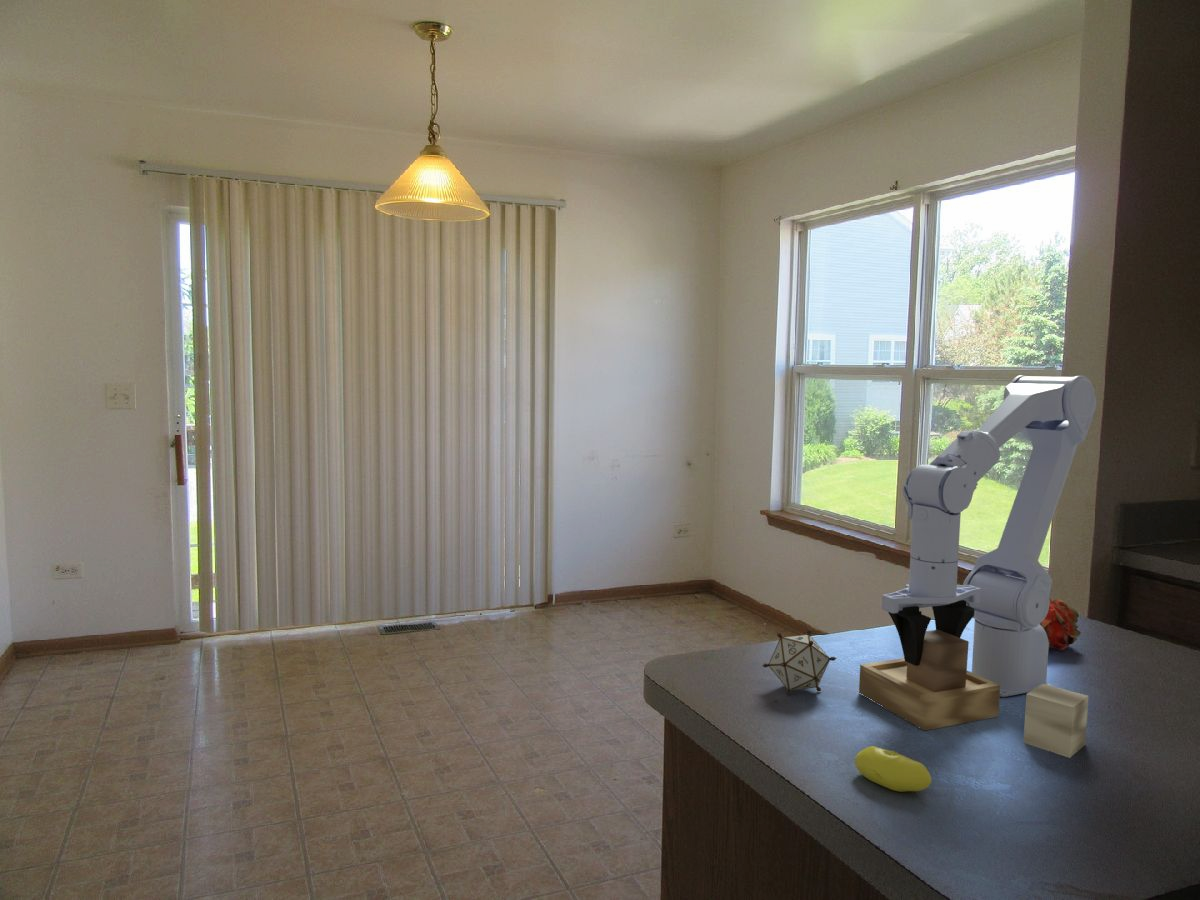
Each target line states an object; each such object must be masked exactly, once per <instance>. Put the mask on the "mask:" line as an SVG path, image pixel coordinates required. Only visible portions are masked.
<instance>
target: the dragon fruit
mask: <svg viewBox="0 0 1200 900" xmlns="http://www.w3.org/2000/svg"><path fill="white" fill-rule="evenodd" d="M1049 600H1050V604H1049V610H1048V613H1047V615H1046V617H1045V619H1044V620H1043V621H1042V622H1041V623H1040V625H1041V626H1042V627H1043V629H1044V630H1045V632H1046V634H1047V637H1048V642H1049V648H1048V650H1050V649H1053V648H1054V649H1055V650H1057V651H1063V650H1065V649H1066V648H1068V647H1070V646H1071V645H1073V644H1074V643H1075V642H1076V641H1077V640H1078V637H1080V635H1081V633H1082V632H1081V631H1080V630H1078V628H1079V625H1077V623H1078V621H1079V620H1078V618H1079V615H1080V614H1079V613H1078V611H1077V610H1076V609H1075V608H1072V607H1070V606H1069V605H1068V603H1067V602H1066V601H1065V600H1063V599H1055V600H1052V599H1051V598H1050V597H1049Z"/></svg>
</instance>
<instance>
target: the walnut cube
mask: <svg viewBox="0 0 1200 900" xmlns="http://www.w3.org/2000/svg"><path fill="white" fill-rule="evenodd" d="M969 643H970V642H969V641H968V640H966V639H964V638H961V637H960V638H959V637H956V636H953V635H951V634H948V633H946V632H943V631H941V630H936V629H933V630H926V633H925V637H924V641H923V651H922V657H921V661H920V664H919V665H918V666H915V665H912V664H910V663H908V662H907V675H906V678H907V679H909V680H911V681H913V682H916V683H918V684H920V685H922V686H924V687H926V688H928V689H930V690H932V691H934V692H940V691H946V690H952V689H958V688H964V687H966V673H967V671H968V657H969V655H968V653H969Z"/></svg>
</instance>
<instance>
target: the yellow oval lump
mask: <svg viewBox="0 0 1200 900" xmlns="http://www.w3.org/2000/svg"><path fill="white" fill-rule="evenodd" d="M854 764H855V767H856V769H857V771H858V772H859V773H860V774H861V775H862V776H863V777H864V778H866V779H868V780H869V781H870V782H873V783H876V784H877V785H880V786H882V787H884V788H887V789H889V790H891V791H895V792H899V793H901V792H902V793H905V792H920V791H923V790H926V789H927V788H928V787H929V786H930V785H931V783H932V777H931V773H930V772H929V770H928V769H927V767H926V766H925V765H924V764H923V763H922V762H920V761H917V760H915V759H911V758H909V757H907V756H906V755H902V754H899V753H898V752H896V751H894V750H888V749H884V748H881V747H878V746H875V745H871V746H867V747H865V748H864V749H862V750H860V751H859V752H858V753H857V754H856V755H855V757H854Z"/></svg>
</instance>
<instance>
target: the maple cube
mask: <svg viewBox="0 0 1200 900" xmlns="http://www.w3.org/2000/svg"><path fill="white" fill-rule="evenodd" d="M1025 696H1026V697H1025V711H1024V726H1023V727H1024V728H1023V742H1022V743H1023V744H1027V745H1030V746H1032V747H1035V748H1039V749H1042V750H1044V751H1048V752H1050V751H1051V753H1053V752H1054V753H1053V754H1056V755H1060V756H1062V757H1066V758H1069V759H1071V758H1072V757H1073V756H1074V755H1075V754H1076V753H1077V752H1079V751H1080V750H1081V749H1082V748H1083V747H1085V746H1086V740H1087V739H1086V737H1087V736H1086V735H1087V724H1088V723H1087V722H1088V712H1089V708H1088V707H1089V695H1087V694H1082V693H1079V692H1075V691H1072V690H1068V689H1064V688H1062V687H1061V688H1060V687H1057V686H1053V685H1052V686H1050V685H1047V684H1041V685H1040V686H1038V687H1036V688H1035V689H1033V690H1032V691H1030V692H1028V693H1025ZM1078 750H1079V751H1078Z"/></svg>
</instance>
